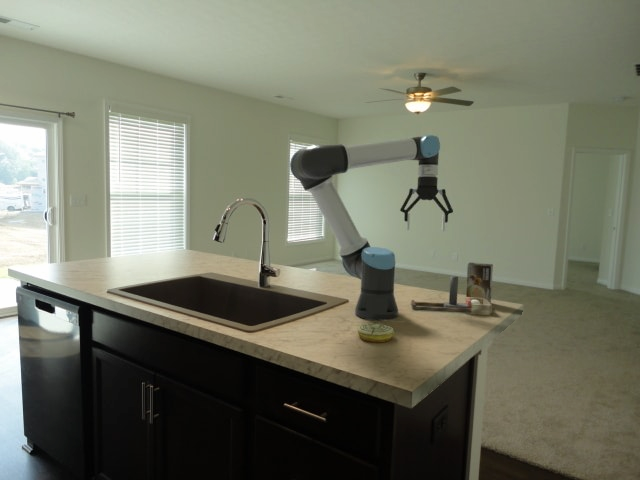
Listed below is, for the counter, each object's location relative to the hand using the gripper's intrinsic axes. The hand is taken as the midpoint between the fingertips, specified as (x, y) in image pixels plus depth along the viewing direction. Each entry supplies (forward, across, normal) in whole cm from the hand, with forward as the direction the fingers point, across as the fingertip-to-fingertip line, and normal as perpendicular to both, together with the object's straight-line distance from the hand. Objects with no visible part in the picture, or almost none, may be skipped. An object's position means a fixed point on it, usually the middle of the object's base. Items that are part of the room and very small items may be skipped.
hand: (425, 230), depth 180 cm
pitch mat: (+29, +9, -11) cm, 32 cm away
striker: (+28, +12, -11) cm, 32 cm away
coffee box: (+29, +22, +1) cm, 36 cm away
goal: (+28, +20, -11) cm, 36 cm away
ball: (+26, +18, -11) cm, 34 cm away
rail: (+28, +6, -11) cm, 31 cm away
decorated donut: (+29, -18, -50) cm, 61 cm away
